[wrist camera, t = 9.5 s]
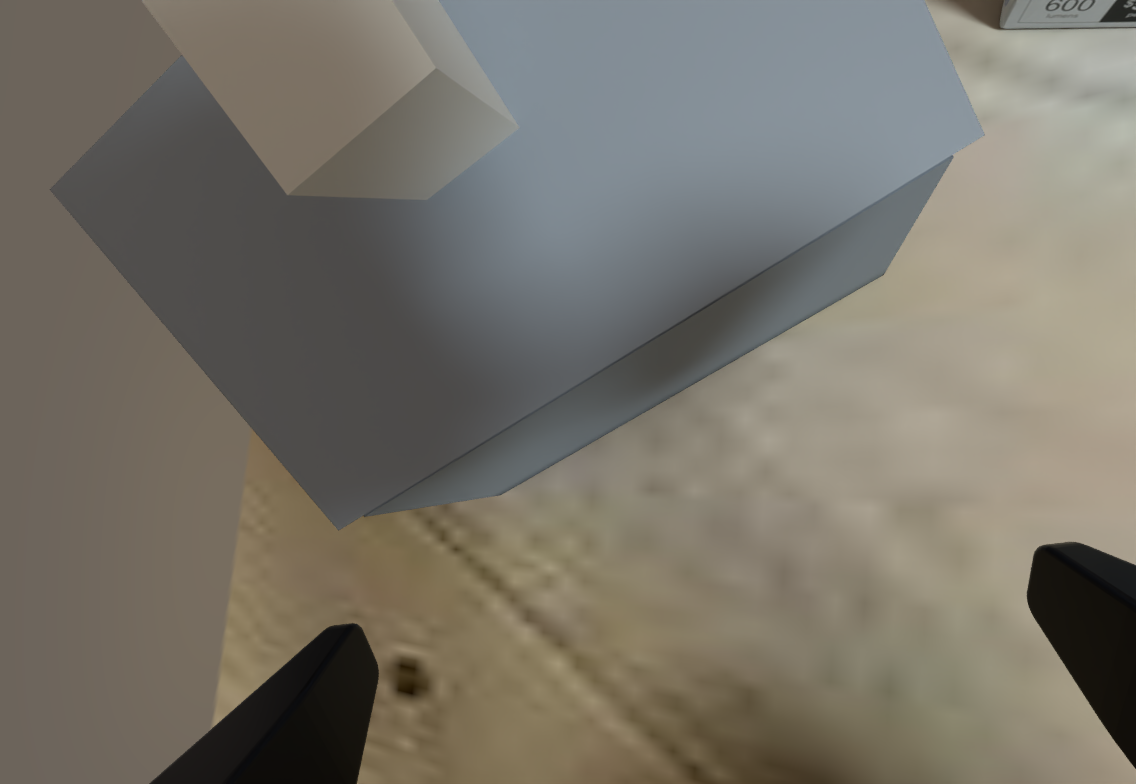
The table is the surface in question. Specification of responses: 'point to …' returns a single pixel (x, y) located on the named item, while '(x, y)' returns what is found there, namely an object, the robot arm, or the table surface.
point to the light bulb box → (1067, 13)
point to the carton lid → (485, 196)
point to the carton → (683, 352)
